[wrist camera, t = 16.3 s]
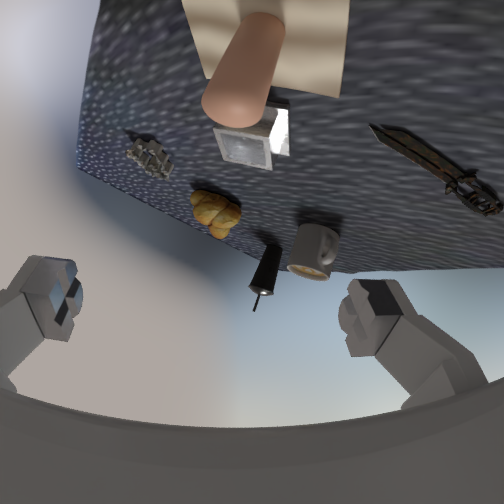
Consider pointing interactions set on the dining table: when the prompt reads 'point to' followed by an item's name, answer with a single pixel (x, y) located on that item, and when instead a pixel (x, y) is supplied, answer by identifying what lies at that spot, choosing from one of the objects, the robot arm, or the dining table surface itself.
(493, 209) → the knife
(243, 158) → the holder
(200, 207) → the bread roll
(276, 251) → the drinking cup
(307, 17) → the board
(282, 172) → the dining table surface
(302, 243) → the coffee mug
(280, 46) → the dowel
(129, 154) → the egg carton
